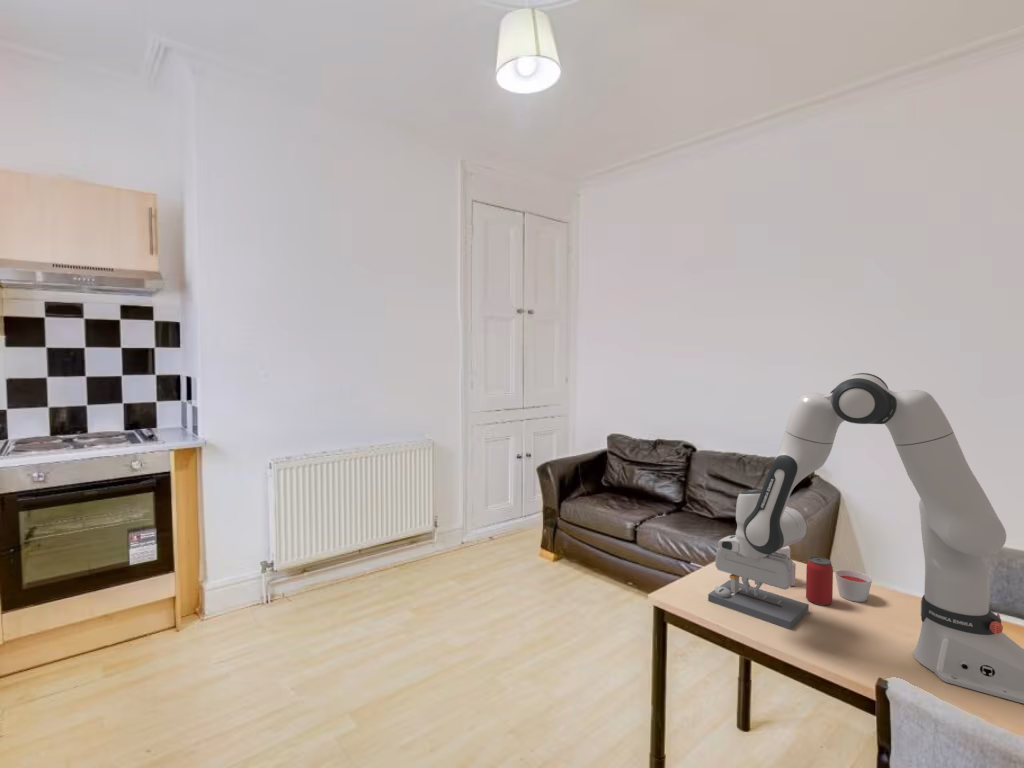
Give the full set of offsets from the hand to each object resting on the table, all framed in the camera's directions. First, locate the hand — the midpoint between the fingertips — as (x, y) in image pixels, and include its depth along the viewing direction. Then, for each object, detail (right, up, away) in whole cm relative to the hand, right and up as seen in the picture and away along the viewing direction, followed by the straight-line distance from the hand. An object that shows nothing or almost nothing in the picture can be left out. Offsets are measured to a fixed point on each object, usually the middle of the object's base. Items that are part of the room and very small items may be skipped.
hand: (751, 594), depth 146 cm
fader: (-3, -1, +3) cm, 5 cm away
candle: (+32, -3, +4) cm, 32 cm away
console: (+1, -3, -1) cm, 3 cm away
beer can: (+20, -3, +2) cm, 20 cm away
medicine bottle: (+16, -2, +15) cm, 22 cm away
